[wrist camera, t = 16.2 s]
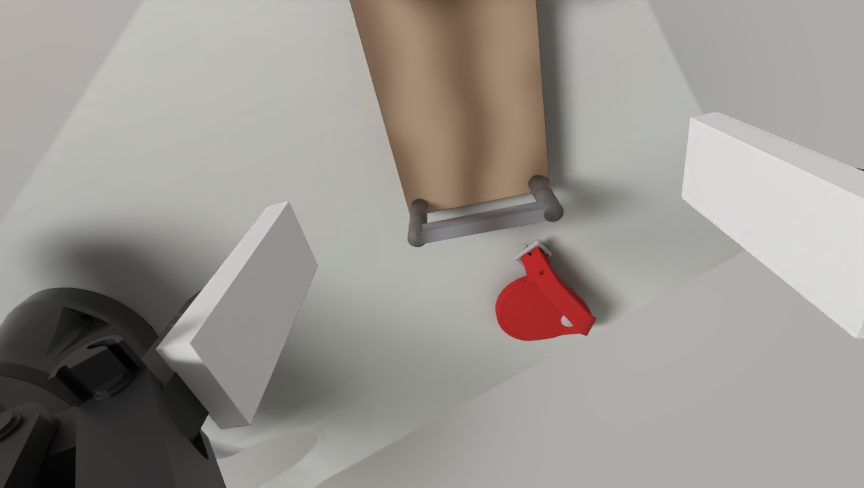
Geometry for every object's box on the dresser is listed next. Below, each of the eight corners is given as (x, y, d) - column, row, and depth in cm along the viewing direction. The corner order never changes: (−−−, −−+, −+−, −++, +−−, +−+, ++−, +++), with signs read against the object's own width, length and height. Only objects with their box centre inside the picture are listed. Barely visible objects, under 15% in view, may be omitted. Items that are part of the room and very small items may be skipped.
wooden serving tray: (411, 203, 37) (406, 250, 30) (344, -43, 27) (314, -56, 21) (542, 177, 36) (568, 220, 29) (520, -92, 26) (551, -123, 19)
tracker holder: (480, 320, 45) (564, 337, 46) (484, 349, 41) (576, 367, 42) (518, 226, 39) (614, 248, 40) (527, 249, 35) (632, 273, 36)
